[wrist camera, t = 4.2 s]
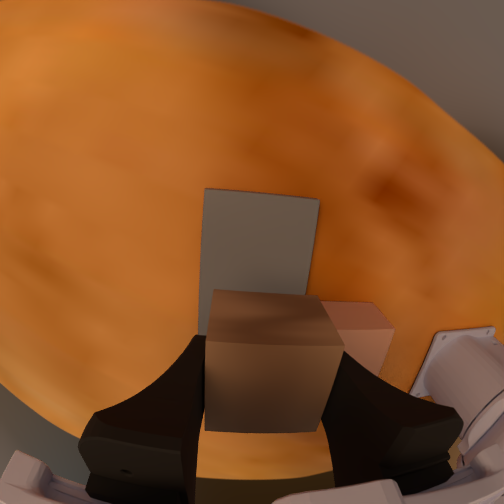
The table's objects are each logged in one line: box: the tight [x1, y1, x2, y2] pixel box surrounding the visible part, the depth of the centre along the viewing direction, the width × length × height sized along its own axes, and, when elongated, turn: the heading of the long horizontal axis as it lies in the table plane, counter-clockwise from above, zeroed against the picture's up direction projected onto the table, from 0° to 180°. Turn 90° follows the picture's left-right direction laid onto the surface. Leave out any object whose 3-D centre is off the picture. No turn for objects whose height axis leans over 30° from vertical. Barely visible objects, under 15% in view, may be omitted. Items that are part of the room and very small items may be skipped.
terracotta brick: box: [321, 301, 395, 377], centre depth 20 cm, size 5×5×4 cm
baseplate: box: [198, 188, 320, 335], centre depth 20 cm, size 7×12×1 cm, turn 174°
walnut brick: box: [205, 289, 345, 433], centre depth 12 cm, size 5×5×4 cm
